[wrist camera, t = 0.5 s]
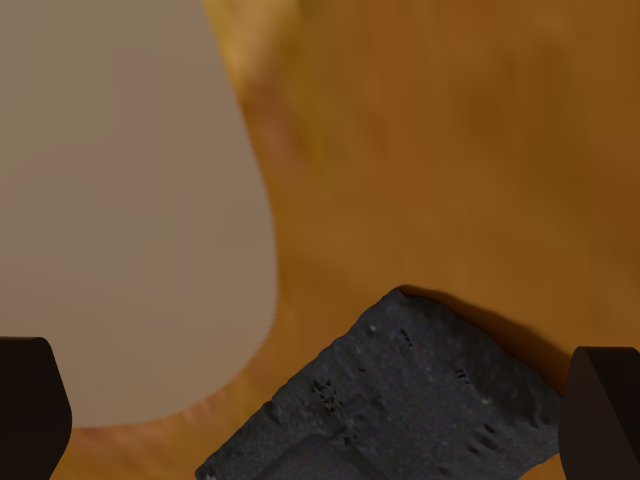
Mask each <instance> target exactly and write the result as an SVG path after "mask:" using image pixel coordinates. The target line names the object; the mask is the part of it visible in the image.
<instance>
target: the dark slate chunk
mask: <svg viewBox="0 0 640 480" xmlns="http://www.w3.org/2000/svg"><path fill="white" fill-rule="evenodd" d="M563 399H564V397H563V396H561V395H560V394H558V393H557V392H556V391H555V390H554V389H552V388H551V387H550V386H549V385H548V384H547V383H545V382H544V381H543V380H542V379H541V377H540V376H539V375H538V373H537V372H536V370H535V369H530V368H529V367H528V366H527V365H526V364H525V363H523V362H520V361H518V360H517V359H515V358H514V357H513V356H509V355H508V354H507V353H506V352H505V351H504V350H503V349H502V348H501V347H500V346H499V345H498V344H497V343H496V342H495V341H494V340H493V339H492V338H491V337H490V336H489V335H488V334H487V333H486V332H484V331H483V330H481V329H479V328H476V327H474V326H472V325H470V323H469V322H467V321H465V320H464V319H462V318H460V317H458V316H455V315H453V313H452V312H451V311H450V310H449V309H448V308H446V307H445V306H444V305H443V304H441V303H434V302H432V301H431V300H429V299H427V298H425V297H418V296H405V295H403V294H402V293H401V291H400V290H399V289H395V290H393V291H391V292H389V293H388V294H386V295H385V296H383V298H382V299H381V301H380V302H378V303H376V304H375V305H373V306H371V307H370V308H368V309H367V310H366V311H365V312H364V313H363V314H362V315H361V316H360V317H359V318H358V320H357V321H356V323H355V324H354V325H353V326H352V327H351V328H350V330H349V331H348V332H347V333H346V334H345V335H343V336H341V337H339V338H337V339H335V340H334V341H333V342H332V344H331V345H330V346H328V347H327V348H325V349H323V350H322V351H321V352H320V353H319V355H318V356H317V358H316V359H314V360H313V361H311V362H310V363H308V364H307V365H306V366H305V367H304V368H302V369H301V370H300V371H299V372H298V373H297V374H296V375H294V376H293V377H291V378H290V379H289V380H288V382H287V383H286V384H285V385H284V386H282V387H281V388H280V389H279V390H278V391H277V392H276V394H275V395H274V396H273V397H272V399H271V401H268V402H266V403H264V404H263V406H262V407H261V409H260V410H258V411H257V412H256V413H255V414H254V415H252V416H251V417H250V419H249V420H248V421H247V422H246V423H245V424H244V425H243V426H242V427H241V428H240V429H238V430H237V431H236V432H235V433H234V434H233V436H232V437H231V438H230V439H229V440H228V441H227V442H226V443H224V444H223V445H222V446H221V447H220V449H219V450H217V451H216V452H214V453H213V454H212V455H211V456H209V457H208V458H207V460H206V461H205V462H204V464H202V465H201V466H200V467H199V468H198V469H197V470H196V471H195V477H196V479H197V480H518V479H519V478H520V477H521V476H522V475H524V474H525V473H526V472H527V471H528V470H530V469H531V468H533V467H535V466H536V465H538V464H542V463H544V462H545V461H547V460H548V459H549V458H551V457H552V456H554V455H556V454H557V453H559V444H558V425H559V419H560V414H561V409H562V404H563Z"/></svg>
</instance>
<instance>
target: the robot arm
mask: <svg viewBox="0 0 640 480" xmlns="http://www.w3.org/2000/svg"><path fill="white" fill-rule="evenodd" d="M71 429H72V412H71V407H70V404H69V401H68V398H67V395H66V392H65V389H64V386H63V382H62V379H61V376H60V374H59V370H58V367H57V364H56V361H55V358H54V355H53V352H52V349H51V346H50V345H49V343H48V341H47V340H46V339H44V338H42V337H1V336H0V480H49V478H50V477H51V475H52V473H53V471H54V469H55V468H56V466H57V464H58V462H59V460H60V459H61V457H62V455H63V453H64V451H65V449H66V447H67V445H68V442H69V439H70V435H71ZM558 444H559V453H560V459H561V463H562V467H563V470H564V473H565V476H566V479H567V480H640V353H639V352H638V351H637V350H636V349H635V348H633V347H587V346H579V347H577V348H576V349H575V351H574V353H573V356H572V360H571V365H570V370H569V375H568V380H567V384H566V389H565V394H564V399H563V404H562V409H561V414H560V419H559V425H558Z"/></svg>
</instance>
